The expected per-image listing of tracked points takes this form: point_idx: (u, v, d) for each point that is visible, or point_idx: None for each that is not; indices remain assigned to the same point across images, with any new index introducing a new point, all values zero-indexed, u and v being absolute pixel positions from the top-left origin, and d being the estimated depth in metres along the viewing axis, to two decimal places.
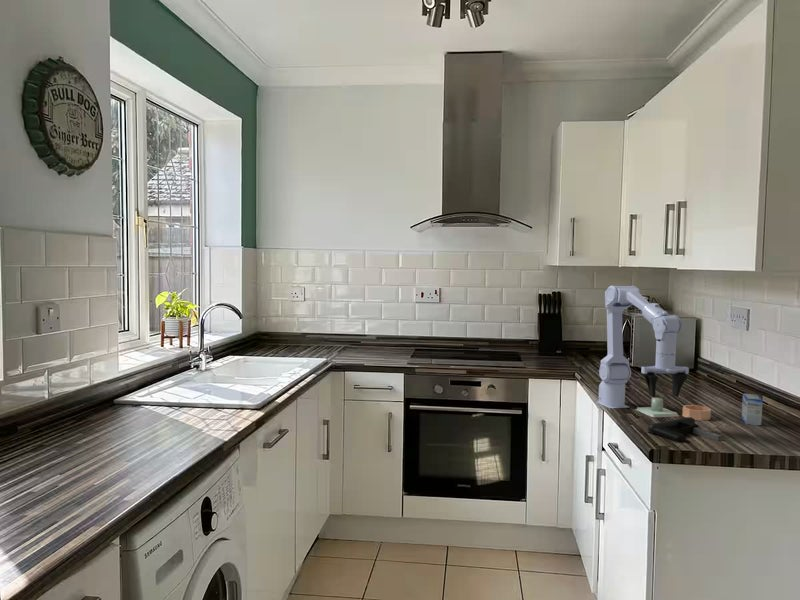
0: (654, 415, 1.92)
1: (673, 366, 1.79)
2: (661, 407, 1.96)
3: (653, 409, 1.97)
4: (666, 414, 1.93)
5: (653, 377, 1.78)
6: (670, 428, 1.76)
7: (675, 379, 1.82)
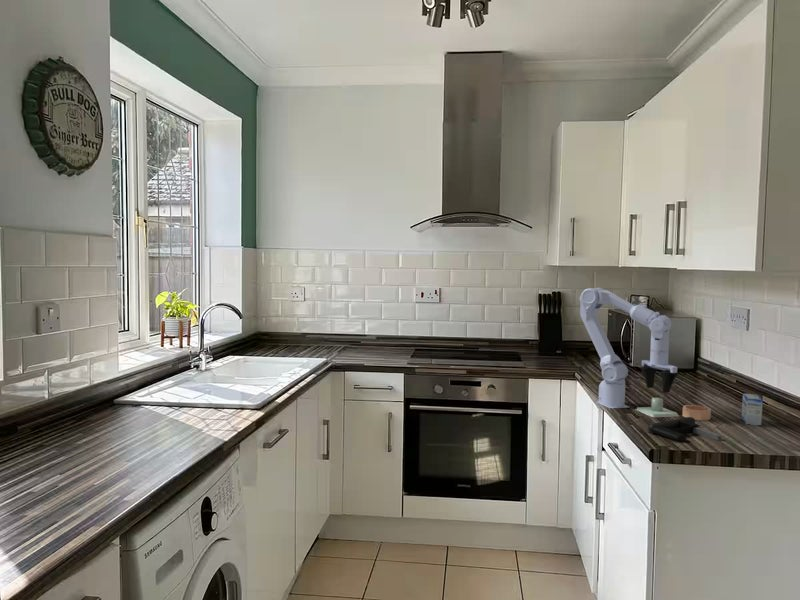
0: (654, 415, 1.92)
1: (656, 362, 1.95)
2: (661, 407, 1.96)
3: (653, 409, 1.97)
4: (666, 414, 1.93)
5: (641, 369, 2.01)
6: (670, 428, 1.76)
7: None
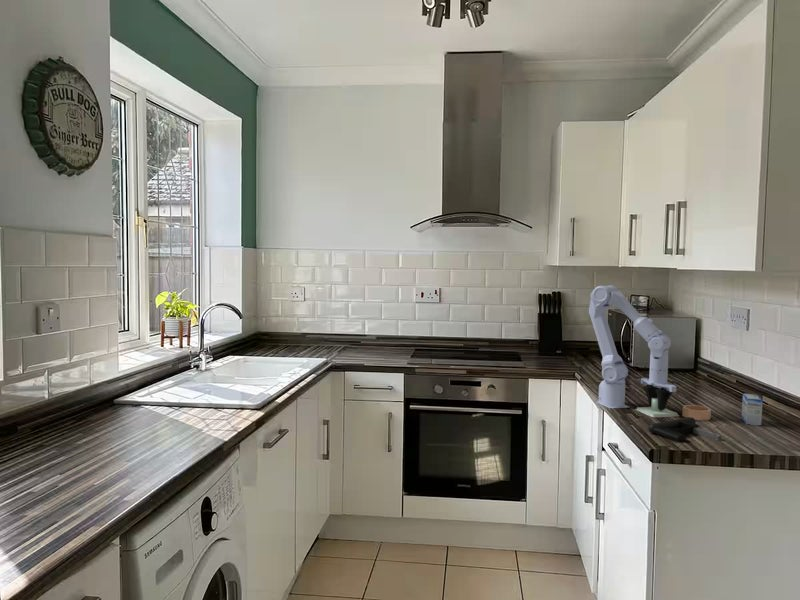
0: (654, 415, 1.92)
1: (655, 381, 1.95)
2: None
3: (653, 409, 1.97)
4: (666, 414, 1.93)
5: (644, 388, 2.00)
6: (670, 428, 1.77)
7: None
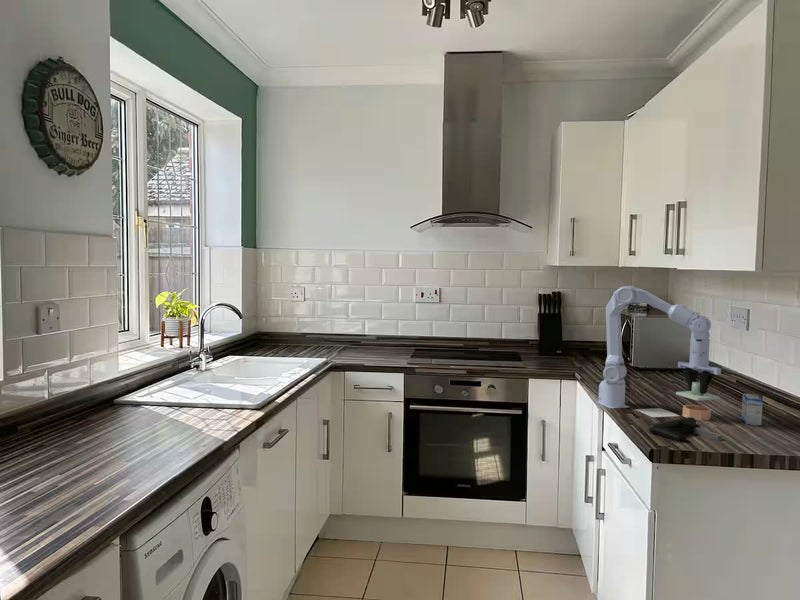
0: (698, 399, 1.87)
1: (697, 364, 1.89)
2: None
3: (694, 393, 1.91)
4: (709, 398, 1.88)
5: (684, 372, 1.94)
6: (671, 428, 1.77)
7: None
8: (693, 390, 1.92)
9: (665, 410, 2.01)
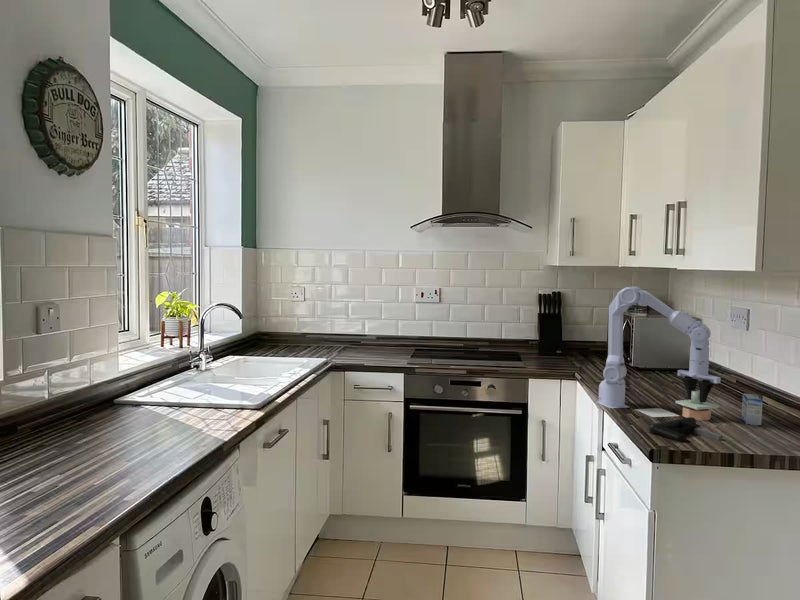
0: (698, 408, 1.87)
1: (697, 372, 1.90)
2: None
3: (694, 402, 1.91)
4: (708, 407, 1.88)
5: (683, 380, 1.94)
6: (671, 428, 1.77)
7: None
8: (693, 399, 1.92)
9: (665, 410, 2.01)
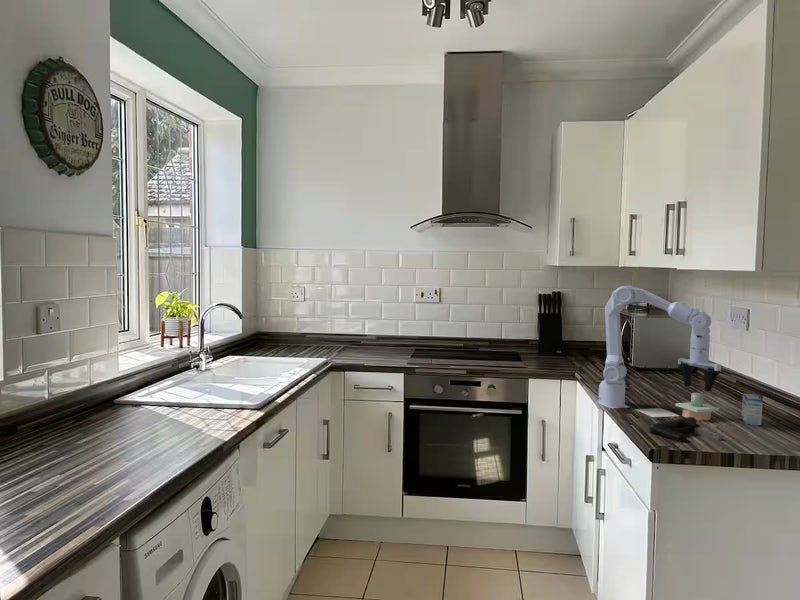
0: (698, 411, 1.87)
1: (697, 360, 1.89)
2: (702, 402, 1.91)
3: (694, 405, 1.92)
4: (708, 409, 1.88)
5: (679, 367, 1.95)
6: (671, 428, 1.77)
7: None
8: (692, 401, 1.92)
9: (665, 410, 2.01)
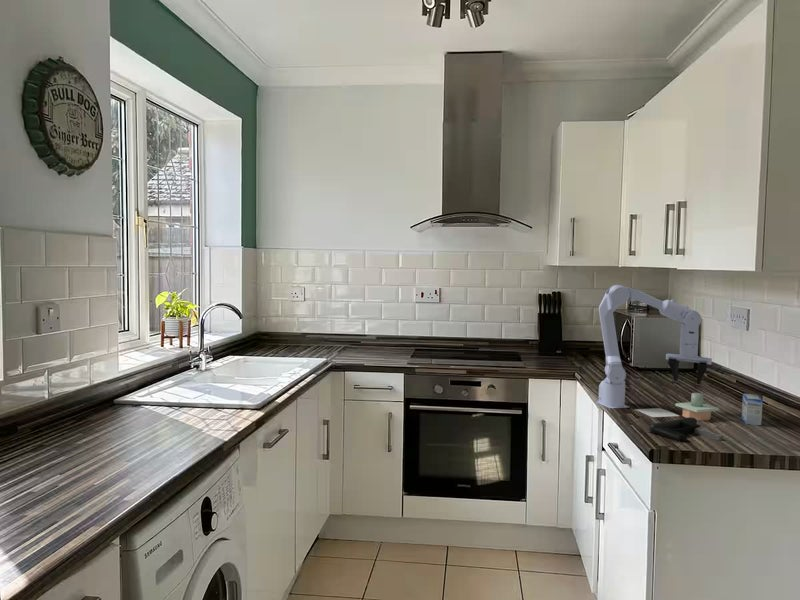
0: (698, 411, 1.87)
1: (690, 355, 1.98)
2: (702, 402, 1.91)
3: (694, 405, 1.92)
4: (708, 409, 1.88)
5: (670, 362, 2.03)
6: (671, 428, 1.77)
7: None
8: (692, 401, 1.92)
9: (665, 410, 2.01)
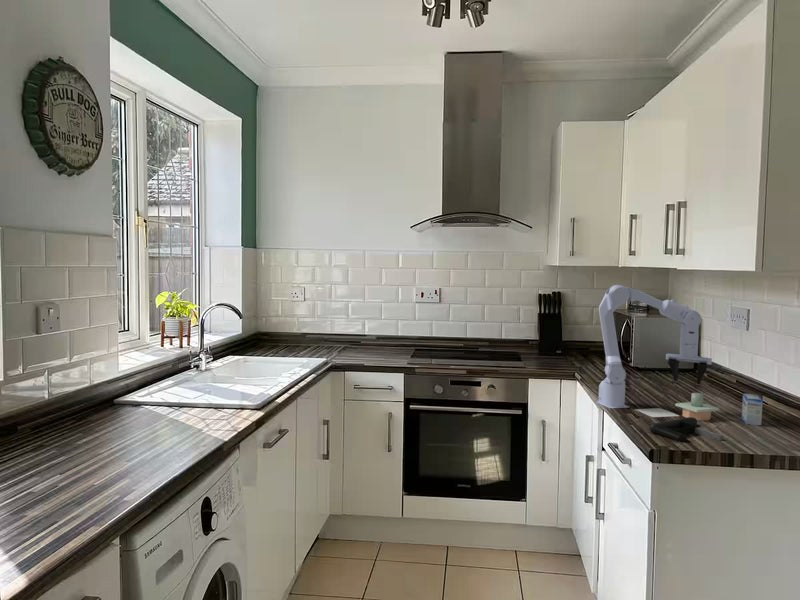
0: (698, 411, 1.87)
1: (690, 355, 1.98)
2: (702, 402, 1.91)
3: (694, 405, 1.92)
4: (708, 409, 1.88)
5: (670, 362, 2.03)
6: (672, 428, 1.77)
7: None
8: (692, 401, 1.92)
9: (665, 410, 2.01)
